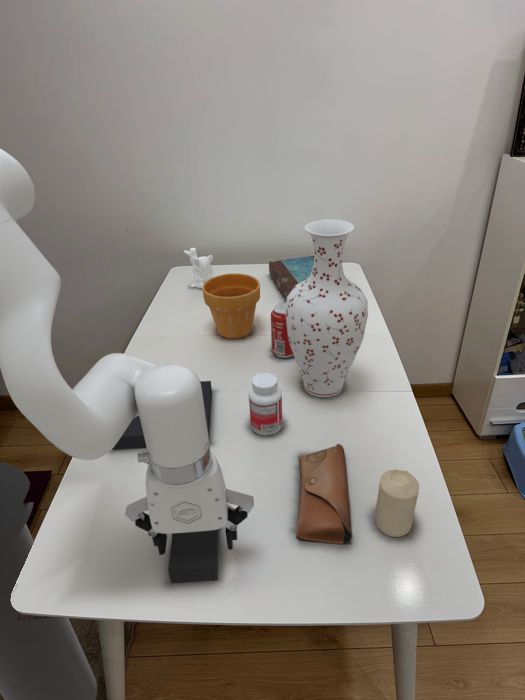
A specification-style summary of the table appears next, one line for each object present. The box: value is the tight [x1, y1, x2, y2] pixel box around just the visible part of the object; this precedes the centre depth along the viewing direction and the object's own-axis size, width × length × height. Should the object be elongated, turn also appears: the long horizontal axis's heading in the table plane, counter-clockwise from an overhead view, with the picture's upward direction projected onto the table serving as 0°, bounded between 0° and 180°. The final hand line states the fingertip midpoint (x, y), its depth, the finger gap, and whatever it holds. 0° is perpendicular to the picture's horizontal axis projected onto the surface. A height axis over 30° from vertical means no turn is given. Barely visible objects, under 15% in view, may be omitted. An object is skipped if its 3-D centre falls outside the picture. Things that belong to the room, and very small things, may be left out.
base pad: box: [111, 380, 213, 451], centre depth 97 cm, size 18×16×3 cm
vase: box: [285, 218, 369, 398], centre depth 96 cm, size 16×16×35 cm
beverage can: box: [270, 302, 294, 359], centre depth 113 cm, size 6×6×12 cm
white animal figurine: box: [183, 247, 214, 290], centre depth 147 cm, size 8×7×12 cm
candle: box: [374, 468, 420, 538], centre depth 72 cm, size 6×6×10 cm
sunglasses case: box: [295, 443, 353, 545], centre depth 79 cm, size 18×7×7 cm
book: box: [268, 255, 315, 301], centre depth 146 cm, size 23×18×5 cm
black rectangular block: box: [167, 529, 220, 584], centre depth 72 cm, size 6×12×3 cm, turn 3°
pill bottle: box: [248, 372, 283, 436], centre depth 92 cm, size 6×6×11 cm
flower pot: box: [201, 272, 261, 339], centre depth 123 cm, size 14×14×13 cm
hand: (197, 543), depth 70 cm, fingers open, 9 cm apart
